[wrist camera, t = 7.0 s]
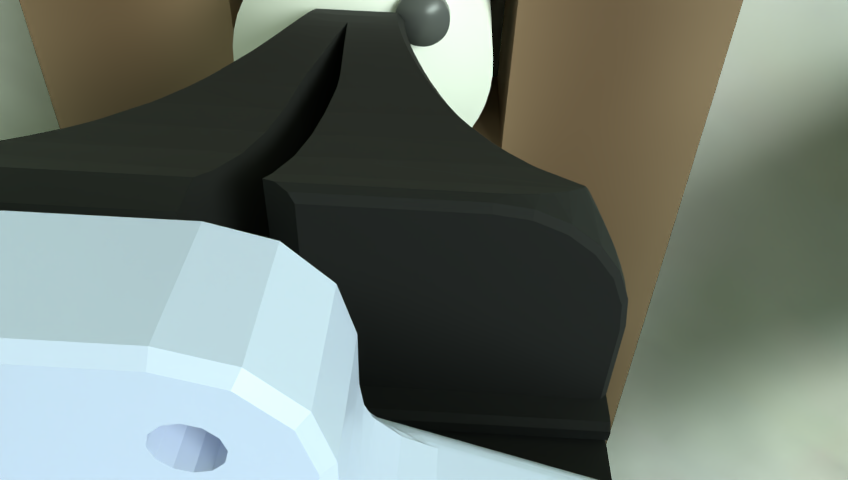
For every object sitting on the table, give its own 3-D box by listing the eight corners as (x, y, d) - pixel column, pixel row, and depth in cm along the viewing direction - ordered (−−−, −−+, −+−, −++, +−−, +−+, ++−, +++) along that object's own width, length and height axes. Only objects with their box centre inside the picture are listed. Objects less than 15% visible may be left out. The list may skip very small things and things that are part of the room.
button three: (500, -109, 12) (505, -53, 10) (481, 109, 15) (482, 187, 13) (253, -121, 12) (211, -67, 10) (276, 98, 15) (246, 175, 13)
